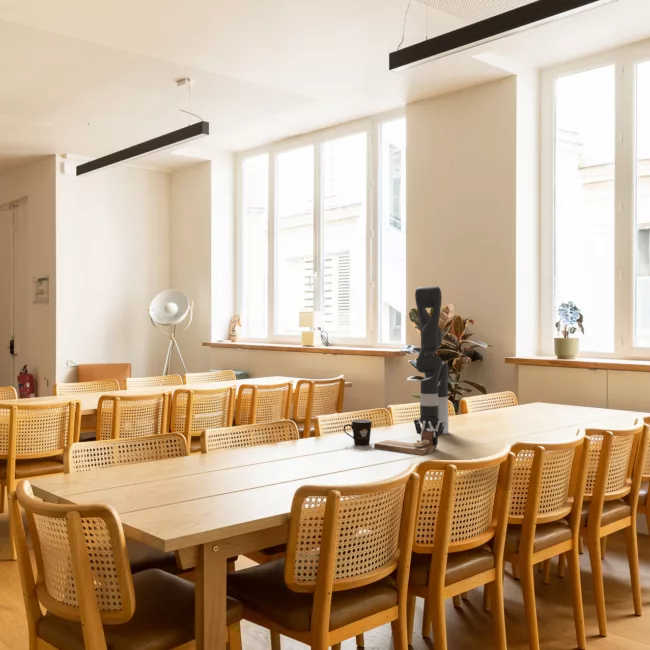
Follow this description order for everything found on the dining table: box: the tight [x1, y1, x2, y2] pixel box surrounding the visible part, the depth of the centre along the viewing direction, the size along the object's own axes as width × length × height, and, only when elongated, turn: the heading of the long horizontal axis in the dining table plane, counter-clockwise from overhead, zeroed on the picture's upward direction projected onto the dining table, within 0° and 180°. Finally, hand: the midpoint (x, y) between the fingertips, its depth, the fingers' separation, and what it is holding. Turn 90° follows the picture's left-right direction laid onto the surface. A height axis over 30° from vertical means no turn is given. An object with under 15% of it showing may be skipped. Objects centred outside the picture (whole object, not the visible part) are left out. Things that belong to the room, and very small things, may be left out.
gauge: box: [413, 430, 438, 450], centre depth 292 cm, size 12×4×7 cm, turn 142°
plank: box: [373, 439, 436, 456], centre depth 294 cm, size 10×23×2 cm, turn 52°
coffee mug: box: [343, 418, 373, 447], centre depth 307 cm, size 12×9×10 cm
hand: (429, 445), depth 295 cm, fingers closed on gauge, 4 cm apart
